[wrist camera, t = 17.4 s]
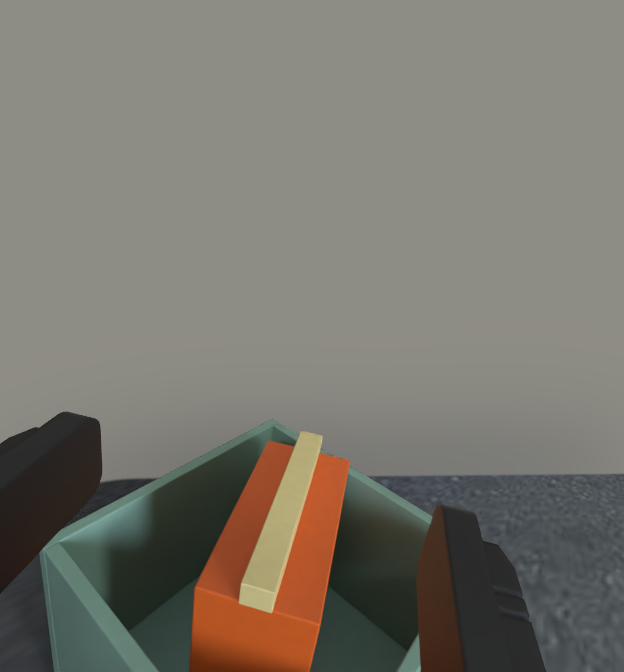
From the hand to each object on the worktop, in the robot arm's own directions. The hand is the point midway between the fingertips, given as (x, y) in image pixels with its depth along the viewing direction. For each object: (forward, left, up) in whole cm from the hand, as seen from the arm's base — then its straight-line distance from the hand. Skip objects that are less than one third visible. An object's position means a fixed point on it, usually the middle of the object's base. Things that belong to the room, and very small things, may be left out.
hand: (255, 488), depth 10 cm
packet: (-3, +6, -18) cm, 19 cm away
